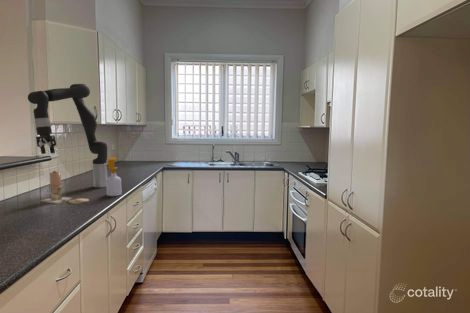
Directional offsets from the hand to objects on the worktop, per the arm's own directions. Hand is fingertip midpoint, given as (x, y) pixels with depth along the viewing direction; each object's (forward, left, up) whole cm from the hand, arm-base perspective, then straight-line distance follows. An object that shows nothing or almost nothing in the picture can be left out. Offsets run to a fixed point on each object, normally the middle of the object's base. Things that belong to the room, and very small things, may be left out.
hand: (48, 153), depth 179 cm
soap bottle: (-24, +26, -29) cm, 46 cm away
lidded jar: (-1, +3, -20) cm, 21 cm away
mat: (-3, +17, -28) cm, 33 cm away
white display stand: (-1, +3, -28) cm, 29 cm away
